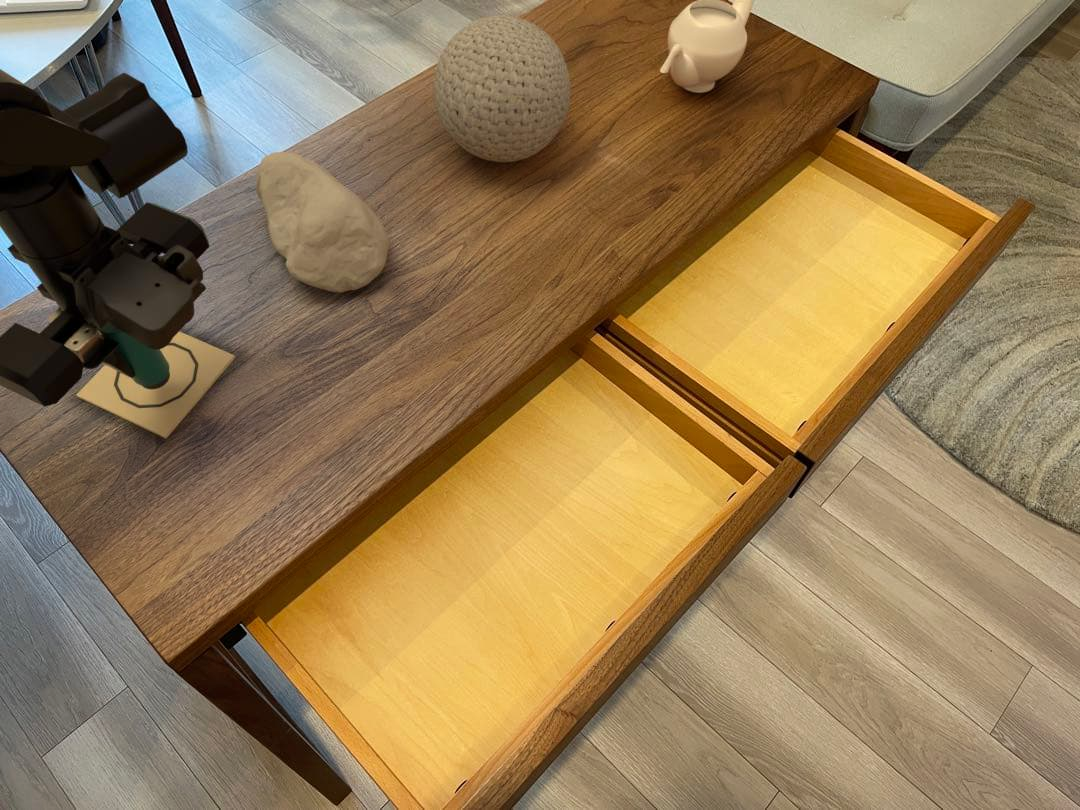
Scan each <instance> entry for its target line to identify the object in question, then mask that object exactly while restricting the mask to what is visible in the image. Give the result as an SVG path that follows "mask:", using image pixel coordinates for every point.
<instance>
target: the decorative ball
mask: <svg viewBox="0 0 1080 810" xmlns="http://www.w3.org/2000/svg"><path fill="white" fill-rule="evenodd" d="M433 81H434V82H433V96H434V102H435V107H436V111H437V114H438V116H439V119H440V121H441V123H442V125H443V127H444V129H445V130H446V132H447V134H448V135H449V136H450V137H451V139H452V141H454V142H455V143H456V144H457V145H458V146H459V147H461V148H462V149H463V150H465V151H466V152H467V153H469V154H471V155H473V156H474V157H477V158H479V159H482V160H485V161H489V162H494V163H495V162H496V163H513V162H518V161H519V162H520V161H523V160H525V159H528V158H530V157H532V156H535V155H536V154H537V153H540V151H543V149H545V147H547V146H548V145H549V144H550V143H551V142H552V141H553V140H554V138H555V137H556V136H557V134H558V133H559V131H560V130H561V129H562V126H563V125H564V122H565V120H566V117H567V115H568V111H569V107H570V103H571V89H572V88H571V77H570V72H569V69H568V65H567V62H566V60H565V58H564V55H563V53H562V51H561V49H560V47H559V46H558V45H557V43H556V42H555V41H554V39H553V38H552V36H550V35H549V34H548V33H547V32H545V30H543V29H542V28H541V27H539V26H537V25H536V24H534V23H533V22H530V21H528V20H526V19H524V18H520V17H517V16H512V15H505V14H504V15H503V14H502V15H501V14H499V15H496V14H495V15H489V16H484V17H480V18H479V19H475V20H474V21H472V22H469V23H468V24H467V25H465V26H463V27H462V28H460V29H459V30H458V31H457V32H456V33H455V34H454V35H453V36H452V38H451V39H450V40H449V41H448V43H447V44H446V46H445V47H444V49H443V50H442V52H441V54H440V56H439V59H438V62H437V65H436V68H435V72H434V79H433Z"/></svg>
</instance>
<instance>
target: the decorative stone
mask: <svg viewBox="0 0 1080 810" xmlns="http://www.w3.org/2000/svg"><path fill="white" fill-rule="evenodd" d="M255 182H256V183H255V191H256V195H257V198H258V199H259V201H260V203H261V204H262V206H263V209H264V213H265V214H266V218H267V223H268V233H269V239H270V241H271V243H272V246H273V248H274V249H275V250H276V252H277V253H278V254H280V255H281V256H282V257H283V258H285V260H286V261H285V267H286V271H288V272H289V274H290V276H291V277H292V278H293V279H295V280H297V281H299V282H301V283H303V284H305V285H308V286H311V287H314V288H318V289H321V290H325V291H328V292H333V293H338V294H339V293H345V292H348V291H355V290H359V289H361V288H363V287H365V286H367V285H369V284H370V283H371V282H372V281H373V280H374V279H375V278H377V277H378V276H379V275H380V273H381V272H382V271H383V270H384V268H385V266H386V263H387V257H388V252H389V249H390V245H391V242H390V238H389V235H388V232H387V230H386V229H385V226H384V225H383V222H382V221H381V220H380V218H379V217H378V216H377V214H376V213H375V212H374V211H373V210H372V209H371V208H370V207H369V206H368V204H366V203H365V201H364V200H362V198H360V197H359V196H358V195H357V194H355V192H353V191H352V190H350V189H349V188H347V187H346V186H345V185H343V184H342V183H341V182H340V181H339V180H338V179H337V178H336V177H335V176H333V175H332V174H331V172H329V171H328V170H327V169H326V168H325V167H324V166H322V165H320V164H319V163H317V162H315V161H313V160H312V159H310V158H308V157H305V156H302V155H300V154H296V153H294V152H290V151H289V152H288V151H275V152H271V153H270V154H267V155H264V157H263V158H262V159H261V161H260V163H259V166H258V168H257V172H256V180H255Z"/></svg>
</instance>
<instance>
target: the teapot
mask: <svg viewBox="0 0 1080 810" xmlns="http://www.w3.org/2000/svg"><path fill="white" fill-rule="evenodd" d="M754 3H755V0H734V1H733V3H732V4H730V3H728V2H726V1H723V0H695V1H693V2H690V4H688V5H687V6H686V7H684V8H683V9H682V11H680V13H679V14H678V15H676V17H675V18H674V19H673V20H672V22H671V23H670V25H669V29H668V31H667V42H666V43H667V51H668V56H667V58H666V59H665V61H664V63H663V64H662V66H661V67H660V70H659V72H660V73H661V74H666V73H668V72H669V74H670V77H671V79H672V81H673V82H674V83H675V84H676V85H677V86H678V87H681V88H683V89H684V90H686V91H688V92H691V93H698V94H699V93H707V92H709V91H711V90H712V89H714V87H715V85H716V82H717V81H719V80H720V79H722V78H724V77H725V76H727V75H728V74H730V73H731V71H733V70H734V68H735V67H736V66H737V65H738V63H740V61H741V59H742V57H743V56H744V54H745V51H746V48H747V44H748V33H747V30H746V25H747V22H748V19H749V17H750V15H751V11H752V8H753V5H754Z"/></svg>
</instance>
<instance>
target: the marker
mask: <svg viewBox="0 0 1080 810" xmlns="http://www.w3.org/2000/svg"><path fill="white" fill-rule="evenodd" d="M97 328H98V330H99V333H100V334H101V335H103V336H105V337H107V338H110V339H112V340H114V341H116V342H119V343H120V345H119V346H118V347H117V348H116V349H117V350H118V351H119V352H120V354H121V355H122V356H123V357H124V358H125V360H126V361H127V362H128V363H129V364H130V366H131V367H132V369H133V371H134V373H135V376H134V377H133V378H132V379H133V380H134V382H135V383H137V384H139V385H142V386H143V387H144V388H146V389H158V388H160V387H162V386H164V385H165V384H166V383H167V382H168V380H169V378H170V372H169V369H170V366H169V363H168V362H167V360H166V358H165V357H164V355H163V353H162V352H161V350H160V349H158V350H155V349H150V348H148V347H146V346H144V345H143V344H141V343H140V342H139V341H138V340H136V339H134V338H133V337H131V336H130V335H128V334H126V333H125V332H123V331H121V330H120V329H118V328H116V327H115V326H113V325H112V324H111V323H110V322H109V321H108V322H107V323H106V324H105V325H104V326H103V327H102V328H99V327H97Z"/></svg>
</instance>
